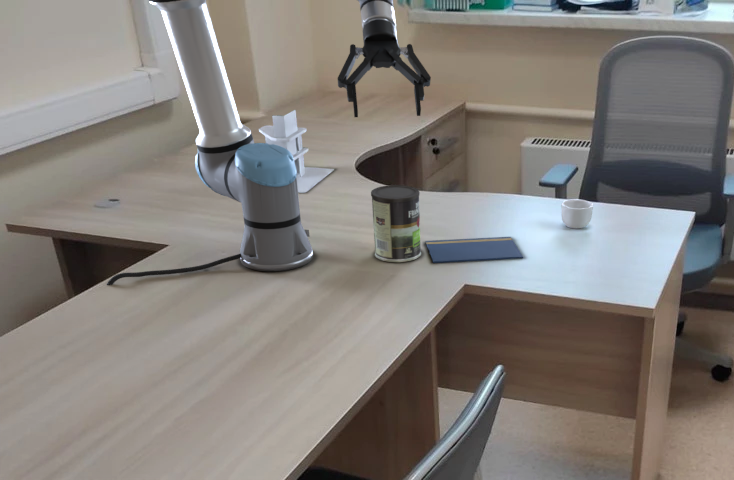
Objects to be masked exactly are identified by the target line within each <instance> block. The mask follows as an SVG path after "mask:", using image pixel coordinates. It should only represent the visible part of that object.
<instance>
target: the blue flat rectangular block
mask: <svg viewBox="0 0 734 480" xmlns="http://www.w3.org/2000/svg"><path fill="white" fill-rule="evenodd" d="M425 245H426V248H427V250H428V253H429V255H430V258H431V260H432V261H431V262H432V263H433V264H442V263H443V264H444V263H460V262H461V263H462V262H464V263H465V262H478V261H479V262H481V261H482V262H483V261H497V260H499V261H500V260H517V259H524V256H523V253H522V252H521V251H520V249H519V248H518V246H517V245H516V243H515V241H514V239H513V238H512V236H500V237H499V236H498V237H479V238H478V237H475V238H459V239H457V238H456V239H440V240H438V239H437V240H425Z"/></svg>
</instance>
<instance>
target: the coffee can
mask: <svg viewBox="0 0 734 480" xmlns="http://www.w3.org/2000/svg"><path fill="white" fill-rule="evenodd" d="M420 194H421V193H420V190H419V189H418V188H416V187H413V186H409V185H403V184H392V185H382V186H379V187H376V188H373V189H372V190H371V191H370V196H371V205H372V206H371V207H372V223H373V241H374V256H375V258H377V259H378V260H380V261H382V262H388V263H406V262H411V261H414V260H417V259H418V258H420V257H421V256H422V252H421V250H422V249H421V217H420V216H421V215H420V214H421V213H420V210H421V209H420Z"/></svg>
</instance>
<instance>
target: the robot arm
mask: <svg viewBox="0 0 734 480" xmlns="http://www.w3.org/2000/svg"><path fill="white" fill-rule="evenodd" d="M357 1H358V2H359V10H360V19H361V28H362V40H363V41H362V42H363V46H362V47H358V46H357V47H356V44H354V43H352V44H350V46H349V54H348V55H347V58H346V60H345V62H344V63H343V66H342V68H341V70H340V72H339V75H338V76H337V87H338V88H340V89H342V88H343V89H346V96H347V101H348V103H352V104H353V106H352V107H353V116H354V117H353V118H359V110H358V109H359V108H358V99H357V98H358V97H357V87H356V85H357V84H358V83H359V82H360V81H361V79H362V78H363V77H364V76H365V75H366V74H367V72H369V71H371V70H372V68H373V67H375V69H381V68H384V69H390V68H391V67H392V69H394V70H395V71H398V72H399V73H400V74H401V75H402V76H404V77H405V78H406V80H408V81H409V82H410V83H411V84H412V85H413V93H414V103H415V111H416V117H421V114H422V113H421V111H422V106H421V102H422V101H424V100H425V89H424V88H426V87H427V88H428V87H430V86H431V81H432V79H431V78H432V77H431V75H430V74H429V73H428V71H427V69H426V68H425V66H424V64H422V62H421V60H420V59H419V58H418V56H417V54H416V53H415V52H414V48H413V47H414V46H413V45H412V44H411V43H408V44H407V45H406V46H403V47H400V45H399V43H398V33H397V22H396V14H395V6H394V0H357ZM148 2H149V4H151V5H153V6H154V7H155V8H157V9H158V10H159V11H160V13H161V15H162V19H163V22H164V24H165V28H166V30H167V34H168V37H169V40H170V44H171V46H172V49H173V52H174V56H175V59H176V62H177V65H178V68H179V71H180V74H181V77H182V80H183V83H184V87H185V89H186V93H187V96H188V99H189V102H190V105H191V109H192V111H193V114H194V118H195V120H196V124H197V127H198V130H199V132H198V134H197V136H196V138H195V145H196V148H197V153H196V154H195V158H194V166H195V171H196V173H197V175H198V177H199V179H200V180H201V181H202V183H203V184H204V185H205V186H206V187H207V188H209V189H210V190H212V191H213V192H215V193H216V194H218V195H220V196H223V197H227V198H230V199H231V200H234V201H236V202H238V203H241V208H242V209H241V210H242V216H243V223H244V224H243V225H244V226H243V227H244V228H243V234H242V237H241V243H240V248H239V253H237V254H233V255H230V256H227V257H224V258H220V259H217V260H214V261H212V262H208V263H205V264H201V265H195V266H189V267H181V268H171V269H161V270H160V269H159V270H158V269H157V270H146V271H137V272H136V271H135V272H121V273H117V274H114V276H112V277H110V279H109V280H108V282H107V283H106V286H112V285H114V284H115V283H116V281H118V280H120V279H124V278H141V277H147V276H148V277H149V276H164V275H165V276H166V275H175V274H183V273H190V272H197V271H202V270H206V269H209V268H213V267H216V266H219V265H222V264H225V263H229V262H232V261H236V260H239V259H240V263H241V265H242V266H244V267H245V268H248V269H250V270H254V271H259V272H260V271H261V272H283V271H291V270H294V269H298V268H301V267H303V266H305V265H307V264H309V263H310V262H311V261H312V260H313V259H314V252H313V247H312V244H311V242H310V240H309V237H310V230H309V229H305V228H304V226H303V224H302V219H301V209H300V198H299V192H298V187H297V177H296V176H297V170H296V166H295V162H294V158H293V155H292V154H291V153H290V152H289V151H288V150H287V149H285V148H283V147H281V146H278V145H274V144H272V145H269V144H268V143H266V142H255V140H254V137H253V134H252V130H251V128H250V127H248V126H246V125H245V124H243V123H242V121H241V119H240V115H239V112H238V107H237V105H236V101H235V98H234V93H233V91H232V87H231V84H230V81H229V78H228V73H227V71H226V67H225V64H224V60H223V56H222V53H221V50H220V46H219V43H218V39H217V36H216V33H215V29H214V25H213V23H212V19H211V15H210V13H209V12H210V11H209V8H208V5H207V0H148ZM401 55H403V56H404V58H405V59H407V61H408V62H409V64H410V66H411V67H412V68H411V67H410V66H409V65H408V64H407V63H406V62H405V61H403V59H402V57H401ZM360 56H363V60H362V61H361V63H360V64H358V66H357V67H356V68H355V70H354V71H353V72H352V69H353V67H354V66H355V63H356V61H357V60H358V59H359V58H360ZM413 69H414V70H413Z"/></svg>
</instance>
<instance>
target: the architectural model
mask: <svg viewBox="0 0 734 480" xmlns="http://www.w3.org/2000/svg"><path fill="white" fill-rule="evenodd" d="M271 118H272V125H263V126H261V127H260V128H258V132H259V133H260V134H262V135H263V136H264V140H265V141H264V143H268V144H269V145H272V144H274V145H278V146H281V147H283V148H285V149H287V150H288V151H289V152H290V153H291V154H292V155H293V158H294V162H295V166H296V170H297V176H296V177H297V187H298V193H301V194H306V193H307V192H309V191H310V190H312V188H314V187H315V186H316V185H317V184H318V183H320V182H321V181H322V180H324V179H325V178H326V177H327V176H329V174H331V173H332V172H333V171H335V170H336V169H335V168H325V167H311V166H305V158H304V157H305V156H304V155H305V154H306V153H307V152H309V147H303V138H302V135H303V134H305V133H306V132H307V127H299V126H298V120H297V109H293V110H292V111H290V112H288V113H286V114H284V115H281V114H280V115H279V114H277V115H272V117H271Z"/></svg>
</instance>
